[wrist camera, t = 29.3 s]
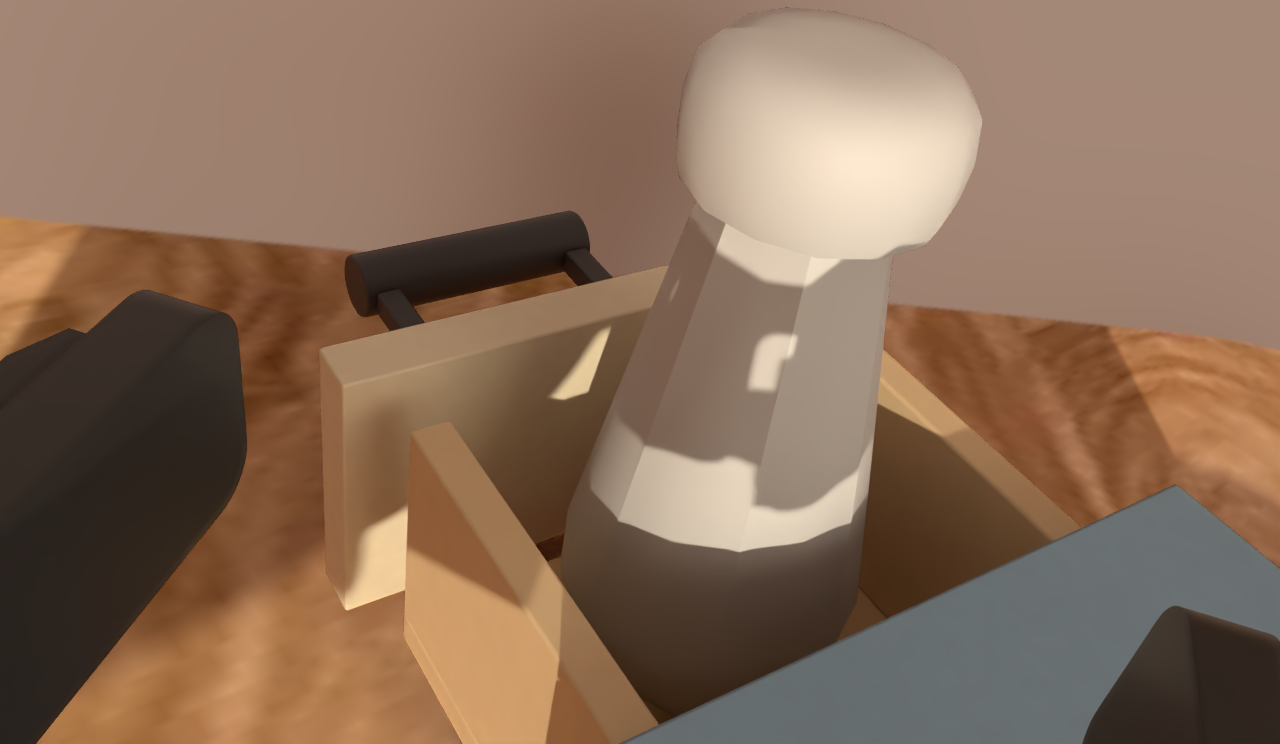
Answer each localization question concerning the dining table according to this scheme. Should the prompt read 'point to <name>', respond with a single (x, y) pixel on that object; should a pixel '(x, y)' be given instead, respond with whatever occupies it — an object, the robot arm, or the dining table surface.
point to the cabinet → (1005, 642)
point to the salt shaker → (764, 352)
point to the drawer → (574, 478)
